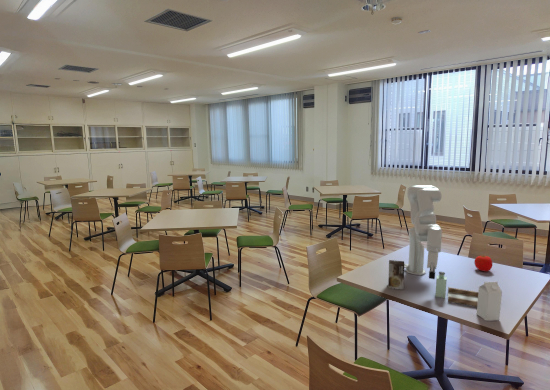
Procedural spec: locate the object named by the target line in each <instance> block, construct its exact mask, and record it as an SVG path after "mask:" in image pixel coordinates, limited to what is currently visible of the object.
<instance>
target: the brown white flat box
mask: <svg viewBox="0 0 550 390" xmlns="http://www.w3.org/2000/svg"><path fill="white" fill-rule="evenodd" d="M478 292H479V291H475V290H469V289H463V288H462V289H461V288H455V287H449V286H448V289H447V302H448V303H452V304H458V305H463V306H468V307H473V308H477V303H478Z"/></svg>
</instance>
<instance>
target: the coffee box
mask: <svg viewBox="0 0 550 390" xmlns="http://www.w3.org/2000/svg"><path fill="white" fill-rule="evenodd" d="M405 264H406V263H405V261H404V260H395V259H394V260H393V259H392V260H391V259H389V261H388V281H387V288H388V289H394V288H395V290H396V289H397V290H403V291H404V288H405V286H404V285H405V268H404V265H405Z"/></svg>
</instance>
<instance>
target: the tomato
mask: <svg viewBox="0 0 550 390" xmlns="http://www.w3.org/2000/svg"><path fill="white" fill-rule="evenodd" d="M474 266H475V268H476V269H477V270H479V271H480V272H489V271H491V269H492V268H493V261H492V258H491V257H490V256H487V255H484V254H483V255H481V254H480V255H478V256H476V257H475V259H474Z"/></svg>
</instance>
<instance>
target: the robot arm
mask: <svg viewBox="0 0 550 390" xmlns="http://www.w3.org/2000/svg"><path fill="white" fill-rule="evenodd" d="M407 198H408V201H409V205H410V221H411V224H412V225H413V226H414V227H411V228H409V230H408V239H409V247H408V250H409V251H408V263H404V264H405V265H404V269H405V271H406V273H408V274H411V275H417V276H423V275H425V274H426V270H425V268H424V263H425V262H424V261H425V247H424V245H423V243H422V242H426V251H427V260H426V261H427V262H426V268H427V269H429V271H428V279H432V280H435V279H436V269H437V266H438V260H439V253H442V240H443V239H442V237H443V230H442V228H441V226H440V225H439V224H437V216H436V213H435V212H434V211H435V207H434V203H436V202H437V203H438V202H441V200H442V192H441V190H440V189H439V188H438V187H436V186H434V185H411V186H409V187H408V188H407Z"/></svg>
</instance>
